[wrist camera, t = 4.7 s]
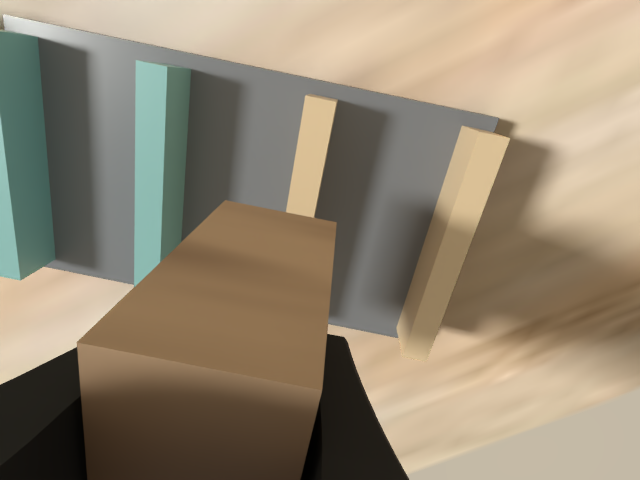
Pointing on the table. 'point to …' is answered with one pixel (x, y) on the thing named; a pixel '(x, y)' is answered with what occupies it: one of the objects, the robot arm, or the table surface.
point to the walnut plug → (213, 355)
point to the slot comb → (233, 169)
